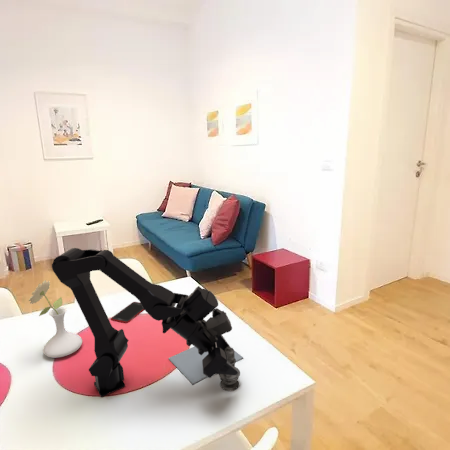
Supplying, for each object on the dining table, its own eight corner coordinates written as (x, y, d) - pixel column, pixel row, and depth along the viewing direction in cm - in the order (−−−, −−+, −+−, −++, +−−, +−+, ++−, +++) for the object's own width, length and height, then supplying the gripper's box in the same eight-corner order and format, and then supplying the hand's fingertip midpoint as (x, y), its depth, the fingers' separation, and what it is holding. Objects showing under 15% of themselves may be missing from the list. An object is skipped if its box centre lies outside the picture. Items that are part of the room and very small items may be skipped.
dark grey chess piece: (238, 393, 86) (238, 353, 83) (216, 390, 87) (215, 350, 85) (241, 378, 92) (241, 340, 89) (221, 375, 93) (220, 337, 90)
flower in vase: (68, 336, 113) (58, 268, 107) (90, 346, 108) (81, 274, 102) (31, 357, 103) (17, 282, 96) (52, 369, 97) (39, 291, 91)
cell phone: (149, 306, 134) (149, 304, 134) (127, 324, 121) (126, 322, 121) (133, 303, 137) (133, 301, 137) (110, 321, 123) (109, 318, 123)
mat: (192, 384, 90) (192, 383, 90) (168, 359, 100) (168, 358, 100) (243, 358, 100) (243, 357, 100) (216, 337, 111) (216, 336, 111)
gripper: (216, 326, 74) (263, 363, 78) (209, 291, 92) (248, 322, 96) (182, 360, 75) (231, 395, 79) (182, 318, 93) (221, 349, 97)
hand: (234, 362), depth 88 cm, fingers open, 9 cm apart
